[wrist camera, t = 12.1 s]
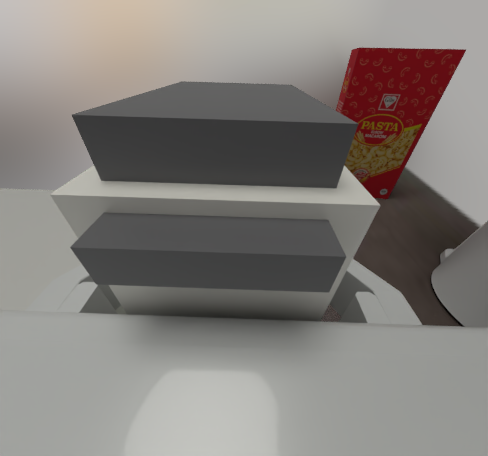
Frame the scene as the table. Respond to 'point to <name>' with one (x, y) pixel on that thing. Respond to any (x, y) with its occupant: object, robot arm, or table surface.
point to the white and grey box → (218, 201)
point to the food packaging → (391, 108)
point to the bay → (32, 246)
